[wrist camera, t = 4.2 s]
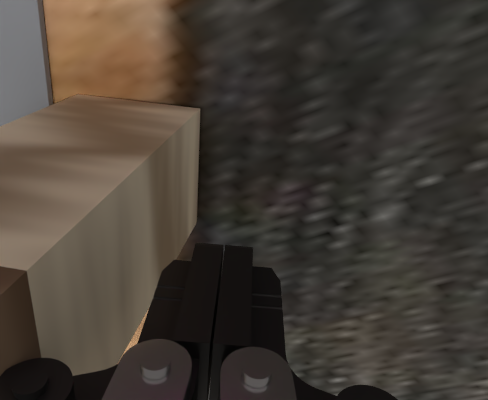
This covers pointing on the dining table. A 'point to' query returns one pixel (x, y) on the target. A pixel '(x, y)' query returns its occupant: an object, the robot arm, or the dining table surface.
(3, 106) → the mat
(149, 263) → the birch block
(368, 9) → the dining table surface
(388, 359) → the dining table surface
